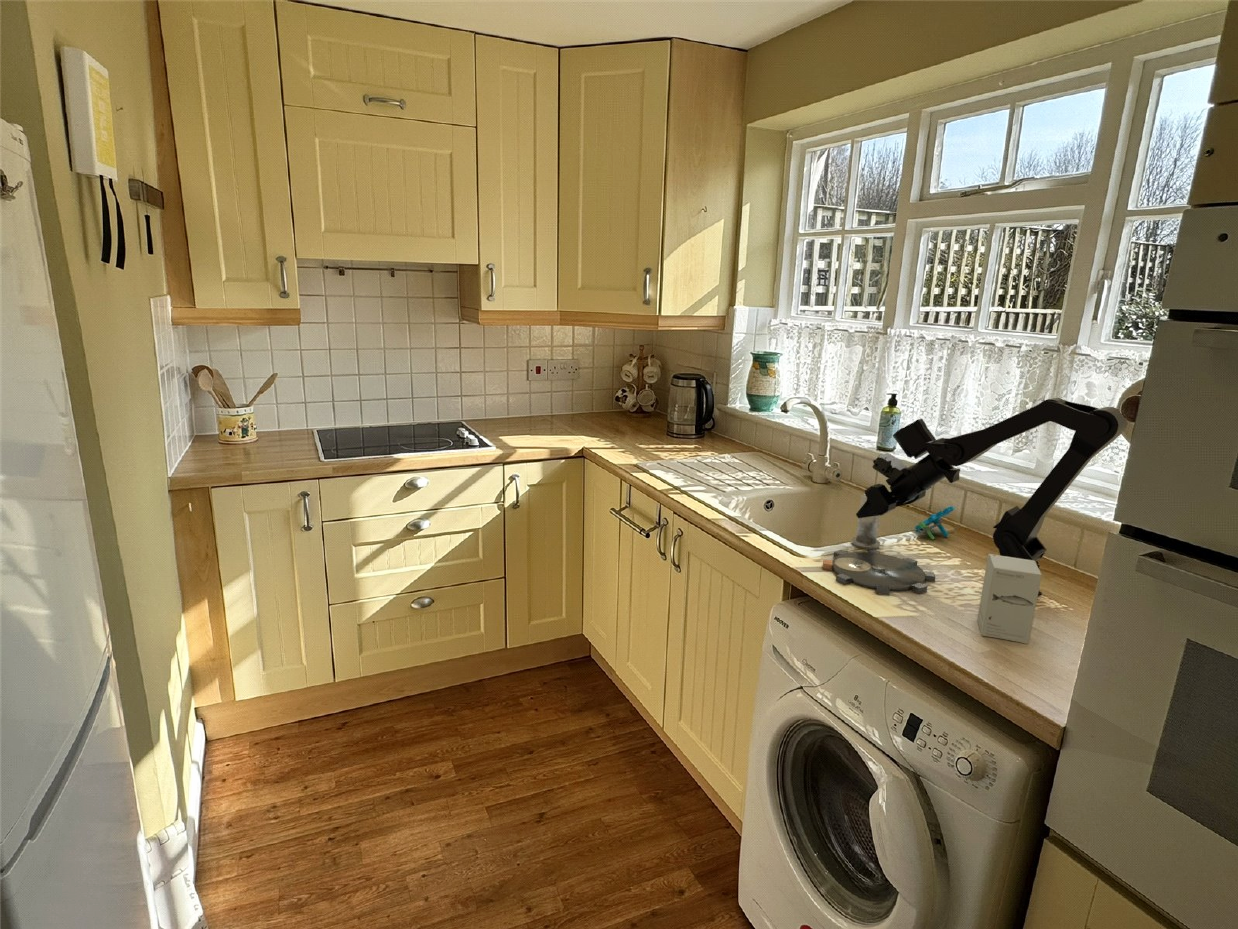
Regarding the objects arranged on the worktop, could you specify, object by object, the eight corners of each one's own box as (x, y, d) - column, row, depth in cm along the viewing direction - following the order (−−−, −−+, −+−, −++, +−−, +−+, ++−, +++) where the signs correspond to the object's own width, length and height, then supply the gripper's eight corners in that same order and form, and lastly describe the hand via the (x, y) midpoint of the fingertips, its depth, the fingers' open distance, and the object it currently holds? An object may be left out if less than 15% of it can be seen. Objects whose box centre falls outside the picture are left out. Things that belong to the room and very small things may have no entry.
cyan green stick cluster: (930, 518, 180) (958, 499, 173) (945, 538, 178) (974, 520, 170) (902, 531, 175) (930, 512, 167) (917, 552, 173) (946, 534, 165)
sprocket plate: (925, 561, 156) (926, 554, 156) (943, 601, 136) (944, 595, 136) (822, 549, 161) (822, 543, 161) (823, 587, 141) (824, 580, 141)
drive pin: (884, 549, 162) (890, 500, 159) (858, 550, 162) (864, 500, 159) (872, 540, 168) (878, 492, 165) (847, 540, 168) (853, 492, 165)
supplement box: (980, 636, 123) (992, 567, 120) (976, 618, 129) (987, 552, 126) (1029, 645, 120) (1042, 574, 117) (1023, 626, 127) (1035, 559, 124)
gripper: (919, 438, 162) (867, 476, 172) (879, 450, 149) (825, 489, 160) (949, 480, 158) (894, 515, 169) (911, 495, 146) (854, 532, 156)
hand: (867, 512), depth 163 cm, fingers open, 9 cm apart
